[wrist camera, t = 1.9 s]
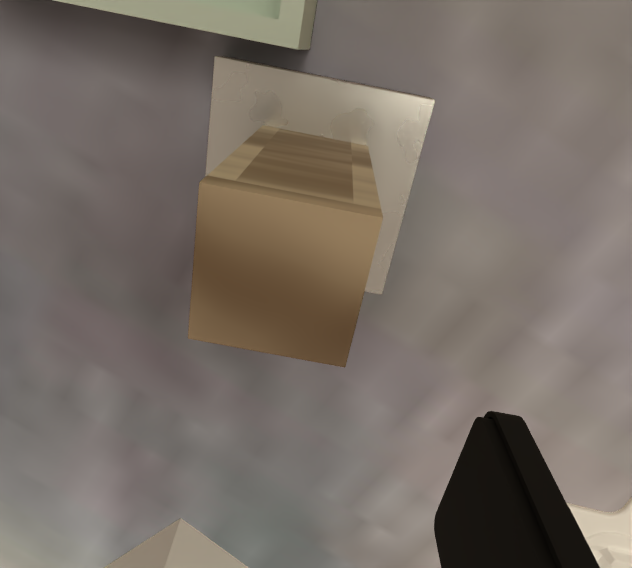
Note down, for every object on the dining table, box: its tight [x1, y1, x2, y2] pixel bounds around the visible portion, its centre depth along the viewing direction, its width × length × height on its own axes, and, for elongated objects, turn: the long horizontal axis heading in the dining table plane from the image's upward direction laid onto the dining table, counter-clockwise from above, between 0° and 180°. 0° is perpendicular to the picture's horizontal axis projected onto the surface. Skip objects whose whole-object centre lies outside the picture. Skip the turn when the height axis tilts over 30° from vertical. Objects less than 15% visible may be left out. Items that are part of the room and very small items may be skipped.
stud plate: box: [205, 56, 435, 294], centre depth 22 cm, size 10×10×6 cm
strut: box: [188, 125, 383, 367], centre depth 19 cm, size 5×5×11 cm
